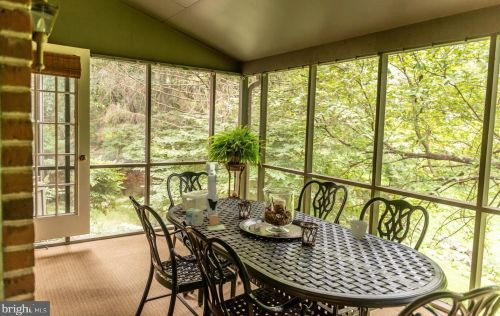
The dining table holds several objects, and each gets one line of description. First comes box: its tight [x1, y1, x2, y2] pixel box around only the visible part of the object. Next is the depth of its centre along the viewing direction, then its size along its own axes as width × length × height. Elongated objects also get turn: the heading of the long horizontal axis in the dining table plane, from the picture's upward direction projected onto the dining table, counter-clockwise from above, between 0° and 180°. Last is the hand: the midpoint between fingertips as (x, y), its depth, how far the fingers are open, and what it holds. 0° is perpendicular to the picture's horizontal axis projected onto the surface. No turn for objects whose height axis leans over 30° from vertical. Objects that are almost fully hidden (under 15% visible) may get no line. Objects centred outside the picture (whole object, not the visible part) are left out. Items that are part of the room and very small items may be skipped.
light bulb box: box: [185, 208, 204, 227], centre depth 255 cm, size 11×7×11 cm, turn 68°
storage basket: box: [181, 189, 208, 212], centre depth 298 cm, size 24×16×15 cm
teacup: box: [348, 219, 369, 240], centre depth 225 cm, size 12×15×10 cm
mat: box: [205, 224, 227, 232], centre depth 247 cm, size 10×12×1 cm
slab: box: [209, 214, 220, 226], centre depth 254 cm, size 3×6×7 cm, turn 108°
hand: (212, 209), depth 258 cm, fingers open, 7 cm apart
